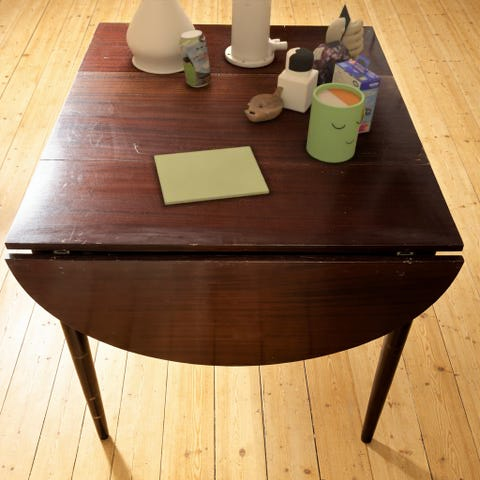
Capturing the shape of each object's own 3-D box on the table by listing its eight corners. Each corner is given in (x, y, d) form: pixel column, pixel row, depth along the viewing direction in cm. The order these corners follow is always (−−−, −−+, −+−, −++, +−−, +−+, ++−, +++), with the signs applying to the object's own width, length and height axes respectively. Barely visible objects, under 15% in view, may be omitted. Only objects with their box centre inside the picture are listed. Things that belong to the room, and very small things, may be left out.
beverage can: (208, 91, 144) (207, 40, 135) (178, 88, 145) (175, 36, 136) (214, 79, 148) (214, 29, 139) (184, 76, 149) (182, 25, 140)
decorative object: (350, 60, 162) (355, 78, 155) (314, 49, 160) (318, 66, 153) (372, 12, 153) (379, 29, 146) (334, -1, 151) (339, 15, 144)
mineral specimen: (306, 61, 152) (327, 25, 145) (341, 83, 153) (364, 48, 146) (298, 77, 145) (319, 40, 138) (335, 100, 147) (358, 65, 140)
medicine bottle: (315, 99, 143) (321, 48, 134) (304, 113, 138) (310, 61, 129) (286, 92, 145) (291, 41, 136) (275, 106, 140) (279, 54, 131)
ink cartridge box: (371, 131, 134) (384, 66, 123) (350, 137, 132) (362, 71, 121) (345, 111, 140) (356, 47, 129) (325, 116, 138) (334, 52, 127)
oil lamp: (259, 131, 132) (260, 110, 129) (234, 118, 136) (234, 97, 132) (297, 110, 139) (299, 89, 135) (272, 98, 142) (274, 78, 139)
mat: (249, 148, 128) (249, 146, 127) (268, 193, 117) (269, 190, 117) (154, 158, 124) (153, 155, 124) (165, 205, 114) (165, 202, 113)
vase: (198, 45, 161) (195, -62, 143) (197, 76, 149) (194, -37, 131) (131, 44, 160) (120, -64, 142) (125, 75, 148) (112, -39, 130)
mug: (325, 168, 123) (333, 113, 115) (297, 143, 130) (303, 89, 121) (374, 153, 128) (386, 99, 119) (345, 129, 134) (354, 76, 125)
